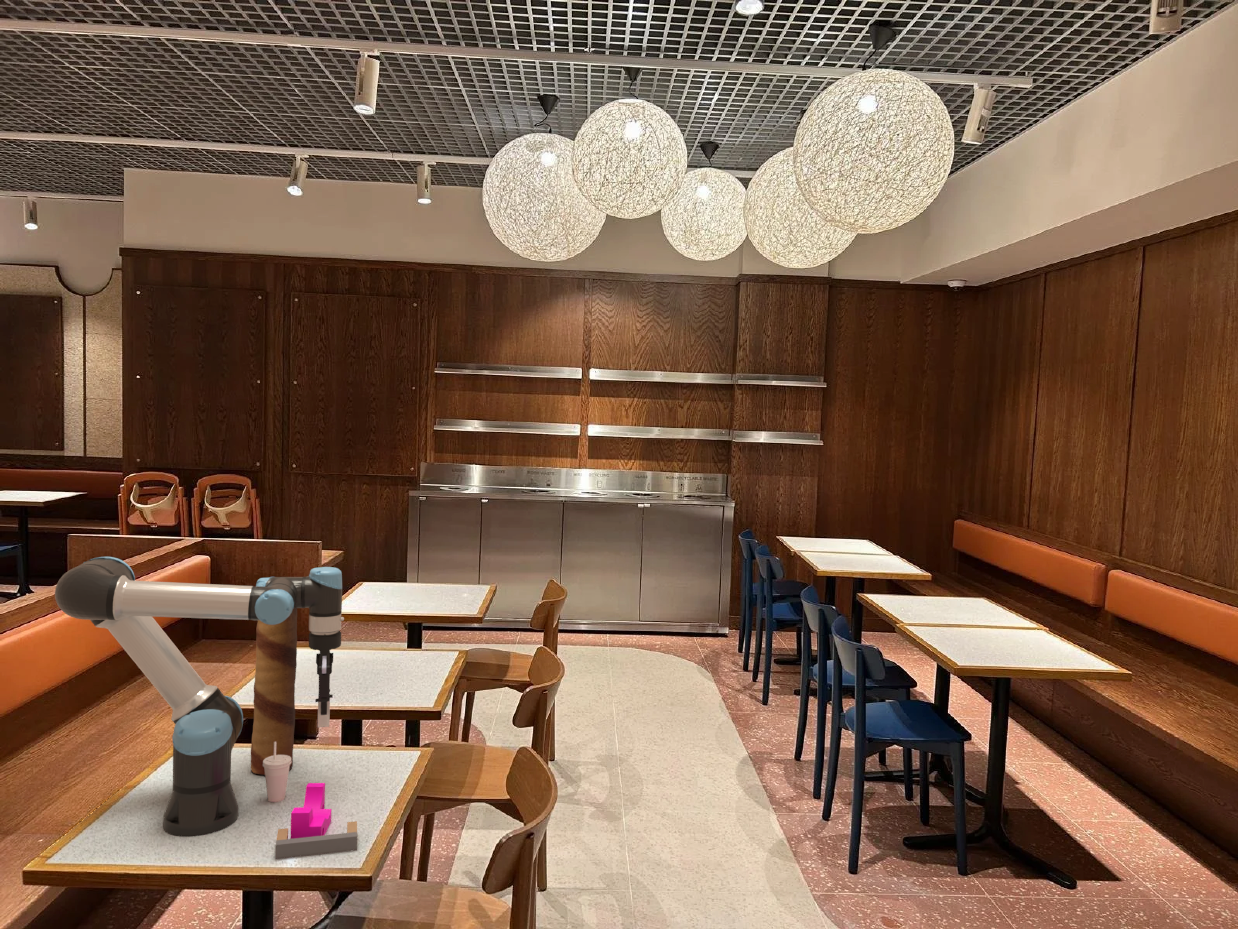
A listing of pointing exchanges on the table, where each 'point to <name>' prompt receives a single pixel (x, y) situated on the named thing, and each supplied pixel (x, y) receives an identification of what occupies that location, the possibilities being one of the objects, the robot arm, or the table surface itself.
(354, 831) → the stop board
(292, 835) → the toy block
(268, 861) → the table surface
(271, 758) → the smoothie
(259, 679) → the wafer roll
